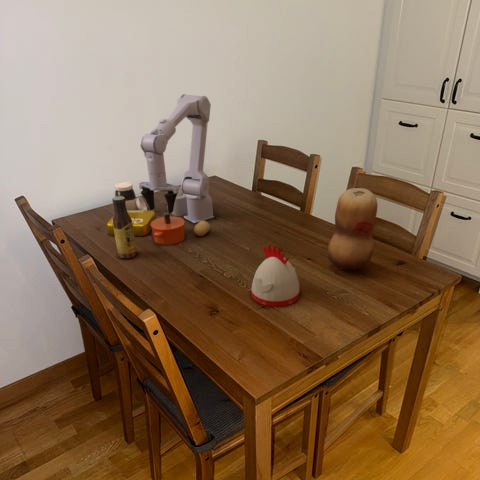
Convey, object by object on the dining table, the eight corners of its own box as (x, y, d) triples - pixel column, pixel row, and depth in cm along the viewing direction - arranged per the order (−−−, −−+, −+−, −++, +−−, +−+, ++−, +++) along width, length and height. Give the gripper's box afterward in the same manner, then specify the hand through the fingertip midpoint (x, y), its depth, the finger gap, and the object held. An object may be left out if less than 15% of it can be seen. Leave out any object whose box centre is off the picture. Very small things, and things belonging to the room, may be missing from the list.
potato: (200, 229, 177) (200, 218, 174) (212, 231, 176) (211, 219, 173) (192, 237, 172) (191, 225, 169) (203, 238, 170) (202, 226, 168)
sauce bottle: (132, 260, 158) (123, 202, 146) (115, 258, 159) (104, 201, 147) (140, 251, 163) (131, 195, 152) (123, 250, 164) (113, 194, 153)
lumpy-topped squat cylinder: (165, 209, 195) (162, 188, 190) (192, 202, 201) (191, 182, 196) (176, 217, 188) (174, 196, 183) (204, 210, 193) (203, 189, 189)
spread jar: (115, 210, 195) (110, 182, 189) (142, 205, 199) (138, 178, 193) (122, 220, 186) (117, 191, 180) (150, 215, 190) (146, 186, 184)
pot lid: (190, 221, 171) (189, 209, 169) (174, 234, 162) (173, 222, 160) (161, 217, 175) (160, 205, 173) (144, 229, 166) (142, 217, 164)
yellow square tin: (157, 220, 185) (155, 208, 183) (147, 236, 173) (145, 224, 170) (120, 220, 187) (118, 208, 184) (107, 235, 174) (105, 223, 172)
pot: (193, 231, 176) (192, 217, 173) (171, 249, 163) (169, 235, 160) (167, 227, 180) (165, 213, 177) (143, 245, 167) (141, 230, 164)
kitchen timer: (270, 277, 146) (271, 232, 137) (308, 291, 138) (311, 244, 130) (241, 296, 137) (240, 248, 128) (280, 311, 129) (282, 262, 121)
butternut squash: (337, 281, 143) (346, 201, 128) (319, 262, 153) (325, 186, 139) (379, 274, 145) (391, 195, 131) (358, 256, 156) (368, 181, 142)
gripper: (131, 173, 158) (137, 212, 165) (169, 177, 153) (173, 217, 160) (143, 167, 163) (148, 205, 171) (180, 171, 158) (184, 210, 166)
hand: (161, 210), depth 166 cm, fingers open, 7 cm apart
